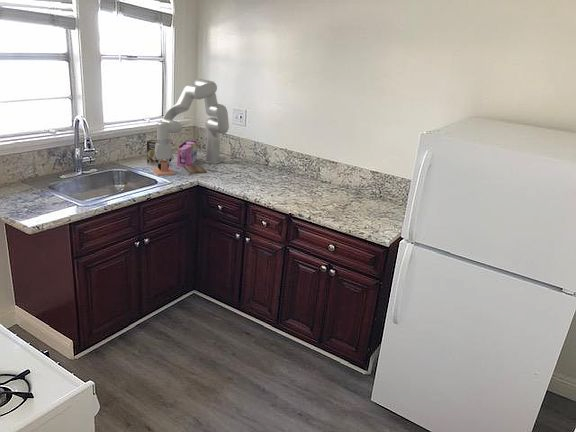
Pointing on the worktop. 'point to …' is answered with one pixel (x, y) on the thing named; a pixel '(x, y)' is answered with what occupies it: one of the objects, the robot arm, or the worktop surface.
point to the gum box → (187, 153)
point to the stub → (163, 169)
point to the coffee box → (151, 152)
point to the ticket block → (195, 169)
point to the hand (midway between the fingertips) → (163, 168)
